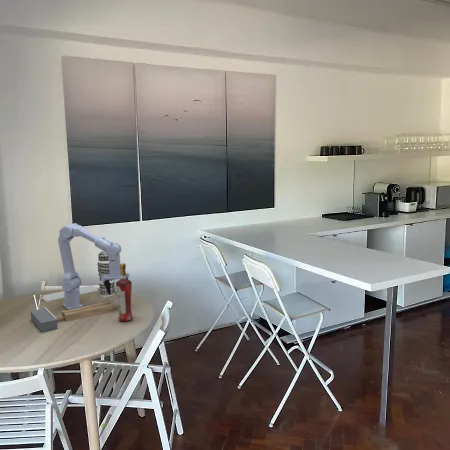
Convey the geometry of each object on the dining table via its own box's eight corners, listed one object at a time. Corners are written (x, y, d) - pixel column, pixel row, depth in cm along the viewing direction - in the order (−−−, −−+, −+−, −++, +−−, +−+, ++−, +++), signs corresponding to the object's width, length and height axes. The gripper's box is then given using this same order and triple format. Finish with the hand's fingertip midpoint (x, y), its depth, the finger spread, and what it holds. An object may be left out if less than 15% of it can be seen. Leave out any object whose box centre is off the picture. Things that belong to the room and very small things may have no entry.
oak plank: (54, 320, 231) (53, 313, 230) (108, 308, 247) (108, 301, 246) (57, 323, 226) (57, 316, 225) (113, 311, 242) (112, 304, 241)
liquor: (115, 320, 229) (111, 264, 224) (127, 316, 234) (124, 261, 229) (123, 323, 224) (120, 266, 219) (136, 319, 229) (133, 263, 224)
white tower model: (96, 297, 265) (93, 253, 261) (102, 292, 274) (100, 250, 270) (112, 297, 264) (109, 253, 260) (118, 292, 273) (115, 250, 269)
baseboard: (99, 292, 276) (91, 288, 285) (99, 287, 275) (91, 283, 284) (46, 303, 257) (39, 298, 266) (45, 298, 256) (38, 293, 265)
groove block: (31, 319, 231) (30, 309, 230) (45, 316, 235) (45, 307, 234) (42, 332, 215) (41, 321, 214) (57, 328, 219) (56, 318, 218)
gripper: (104, 271, 234) (105, 297, 236) (131, 266, 242) (132, 292, 244) (99, 268, 240) (100, 294, 242) (125, 264, 248) (127, 288, 250)
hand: (116, 292), depth 244 cm, fingers open, 7 cm apart
